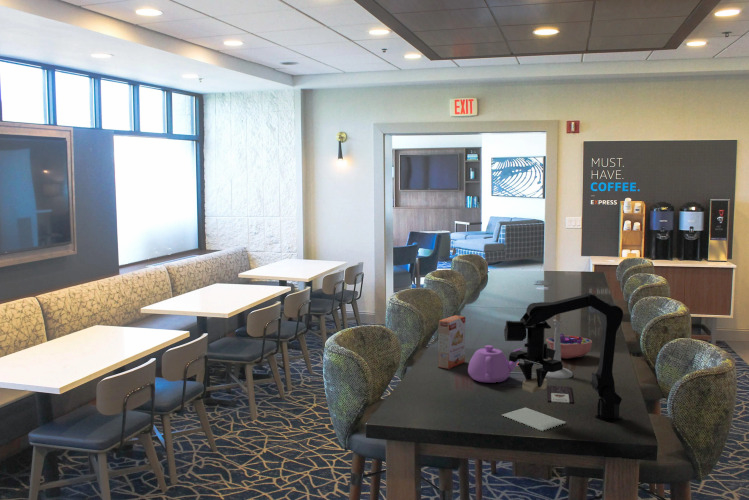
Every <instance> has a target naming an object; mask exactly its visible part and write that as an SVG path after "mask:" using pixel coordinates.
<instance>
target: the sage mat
mask: <svg viewBox="0 0 749 500" xmlns="http://www.w3.org/2000/svg"><path fill="white" fill-rule="evenodd" d="M503 416H504V417H503ZM501 417H503V418H505V417H507V418H506V419H508V418H509V419H508V420H510V419H512V420H511V421H513V420H514V421H513V422H516V421H517V422H516V423H518V422H519V424H521V423H523V424H525V425H524V426H526V425H527V426H526V427H529V426H530V427H529V428H531V427H532V429H534V428H535V429H534V430H536V429H537V430H536V431H539V430H540V431H539V432H541V431H542V432H545V431H548V430H551V429H554V428H557V427H560V426H562V424H563V425H566V424H567V422H566V421H564V420H562V419H559V418H555V417H553V416H550V415H548V414H546V413H545V414H544V413H542V412H539V411H537V410H533V409H531V408H528V407H523V408H519V409H515V410H513V411H509V412H505V413H503V414H501ZM523 424H522V425H523ZM559 425H560V426H559ZM556 426H557V427H556ZM553 427H554V428H553ZM550 428H551V429H550ZM547 429H548V430H547ZM544 430H545V431H544Z"/></svg>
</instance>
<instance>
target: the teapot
mask: <svg viewBox="0 0 749 500" xmlns="http://www.w3.org/2000/svg"><path fill="white" fill-rule="evenodd" d="M522 349H523V348H522V347H521V348H516V349H514V350H513V351H512V352H515V351H522ZM517 362H518V361H516V362H512V361H509V360H508V359H507V357H506V356H505V354H504V352H503V351H502V350H501V349H499V348H495V347H494V346H493V345H490V344H488V345H484V348H483V347H481V348H479V349H477V350H476V351H475V352H474V354H473V355H472V357H471V358H470V360H469V363H468V365H467V367H468V368H467V373H468V375H469V376H470V378H471V379H472V380H474V381H476V382H479V383H486V384H487V383H490V384H491V383H492V384H493V383H496V382H498V383H501V382H505V381H506V380H507V379H508V378H509V377H510V375H511V372H513V371H514V370H515V368H516V366H517ZM496 384H497V383H496Z"/></svg>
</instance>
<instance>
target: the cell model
mask: <svg viewBox="0 0 749 500" xmlns="http://www.w3.org/2000/svg"><path fill="white" fill-rule="evenodd" d="M554 337H555V336H550V337H547V338H546V339H545V340H546V342H547V345H548V346H549V349H552V350H554ZM592 343H593V341H592V339H589V338H586V337H582V336H578V335H576V336H575V335H567V334H566V335H565V334H564V333H563V332H562V333H561V332H560V346H561V359H564V360H565V359H566V360H568V359H574V358H581V357H584V356H585V355H587V354H588V353H589V352H590V351H591V349H592Z"/></svg>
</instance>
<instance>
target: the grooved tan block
mask: <svg viewBox="0 0 749 500" xmlns="http://www.w3.org/2000/svg"><path fill="white" fill-rule="evenodd" d="M521 386H522V391H524V392H528V393H531V394H533V393H535V392H539V391H542V390H545V389H547V386H548V379H546V378H545V379H544V381H543V384H542V386H541V387H538V383H537V376H536V377H532V379H529V380H526V379H525V380H523V381H522V385H521Z"/></svg>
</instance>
